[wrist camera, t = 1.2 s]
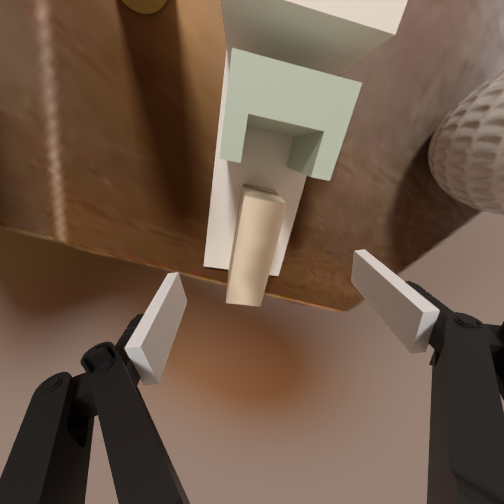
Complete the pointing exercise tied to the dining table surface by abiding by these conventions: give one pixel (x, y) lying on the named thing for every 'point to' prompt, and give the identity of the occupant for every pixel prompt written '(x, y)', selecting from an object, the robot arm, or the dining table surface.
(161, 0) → the bark log
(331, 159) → the socket block
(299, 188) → the track
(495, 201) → the vase
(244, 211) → the beige wooden block
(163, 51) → the dining table surface
